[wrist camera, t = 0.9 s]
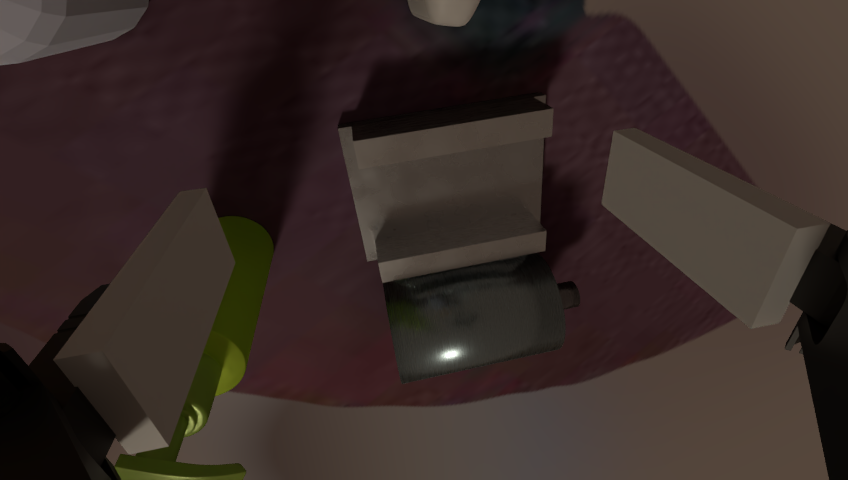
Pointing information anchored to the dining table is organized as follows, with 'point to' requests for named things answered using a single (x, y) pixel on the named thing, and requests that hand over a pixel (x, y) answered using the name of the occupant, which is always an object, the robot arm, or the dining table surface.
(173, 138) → the dining table surface
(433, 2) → the eye dropper bottle
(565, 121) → the dining table surface
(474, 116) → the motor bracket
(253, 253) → the soap dispenser
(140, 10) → the soap bottle
